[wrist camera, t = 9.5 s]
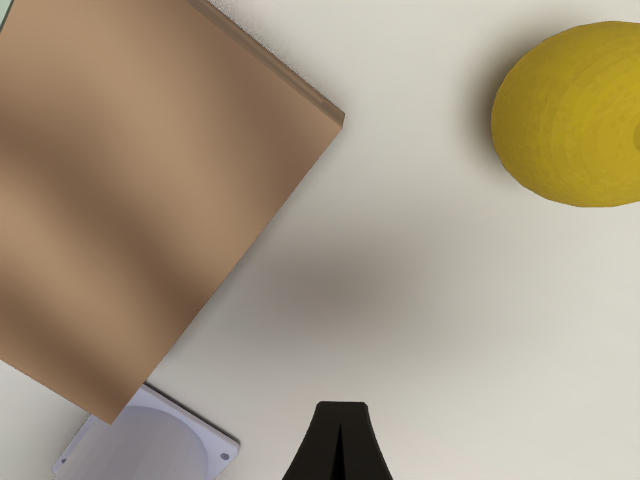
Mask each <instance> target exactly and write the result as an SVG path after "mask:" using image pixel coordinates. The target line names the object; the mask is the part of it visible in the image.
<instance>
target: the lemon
mask: <svg viewBox="0 0 640 480" xmlns="http://www.w3.org/2000/svg"><path fill="white" fill-rule="evenodd" d="M491 134H492V139H493V144H494V149H495V151H496V153H497V155H498V156H499V158H500V160H501V162H502V164H503V166H504V168H505V169H506V170H507V171H508V172H509V173H510V174H511V175H512V176H513V177H514V178H515V179H516V180H517V181H518V182H519V183H520V184H521V185H522V186H524V187H525V188H527V189H529V190H531V191H533V192H534V193H536V194H538V195H540V196H542V197H544V198H545V199H548V200H551V201H555V202H559V203H563V204H568V205H572V206H576V207H615V206H620V205H624V204H629V203H633V202H638V201H640V23H631V22H621V21H605V22H599V23H593V24H587V25H581V26H577V27H573V28H571V29H568V30H566V31H564V32H561V33H559V34H557V35H554V36H552V37H550V38H547V39H546V40H544V41H543V42H541V43H540V44H538V45H537V46H536V47H534V48H533V49H532V50H530V51H529V52H527V53H526V54H525V55H523V57H522V58H521V59H520V60H519V61H518V62H517V63H516V64H515V65H514V67H513V68H512V69H511V70H510V71H509V72H508V73H507V75H506V77H505V79H504V80H503V82H502V84H501V86H500V87H499V89H498V91H497V94H496V97H495V100H494V104H493V107H492V110H491Z"/></svg>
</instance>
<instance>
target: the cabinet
mask: <svg viewBox="0 0 640 480" xmlns="http://www.w3.org/2000/svg"><path fill="white" fill-rule="evenodd" d="M344 116H345V113H343V112H342V111H341V110H340V109H339V108H337V107H336V106H335V105H334V104H333V103H331V102H330V101H329V100H328V99H326V98H325V97H324V96H323V95H322V94H320V93H319V92H318V91H317V90H315V89H314V88H313V87H312V86H311V85H309V84H308V83H307V82H306V81H305V80H303V79H302V78H301V77H300V76H298V75H297V74H296V73H295V72H294V71H292V70H291V69H290V68H289V67H288V66H286V65H285V64H284V63H283V62H281V61H280V60H279V59H278V58H277V57H275V56H274V55H273V54H272V53H271V52H269V51H268V50H267V49H266V48H264V47H263V46H262V45H261V44H260V43H258V42H257V41H256V40H255V39H253V38H252V37H251V36H250V35H249V34H247V33H246V32H245V31H244V30H243V29H241V28H240V27H239V26H238V25H236V24H235V23H234V22H233V21H232V20H230V19H229V18H228V17H227V16H226V15H224V14H223V13H222V12H221V11H219V10H218V9H217V8H216V7H215V6H213V5H212V4H211V3H210V2H209V1H207V0H14V2H13V5H12V7H11V10H10V12H9V14H8V17H7V19H6V21H5V24H4V26H3V28H2V31H1V33H0V360H2V361H4V362H5V363H7V364H9V365H10V366H12V367H14V368H15V369H17V370H19V371H20V372H22V373H24V374H25V375H27V376H29V377H31V378H32V379H34V380H36V381H37V382H39V383H41V384H42V385H44V386H46V387H47V388H49V389H51V390H52V391H54V392H56V393H57V394H59V395H61V396H62V397H64V398H66V399H67V400H69V401H71V402H72V403H74V404H76V405H77V406H79V407H81V408H82V409H84V410H86V411H87V412H89V413H91V414H92V415H94V416H96V417H97V418H99V419H101V420H102V421H104V422H106V423H107V424H109V425H111V424H112V423H113V421H114V420H115V419H116V418H117V416H118V415H119V414H120V412H121V411H122V410H123V409H124V407H125V406H126V405H127V403H128V402H129V401H130V400H131V398H132V397H133V396H134V394H135V393H136V392H137V391H138V389H139V388H140V387H141V385H142V384H143V383H144V382H145V380H146V379H147V378H148V377H149V375H150V374H151V373H152V371H153V370H154V369H155V368H156V366H157V365H158V364H159V362H160V361H161V360H162V359H163V357H164V356H165V355H166V353H167V352H168V351H169V350H170V348H171V347H172V346H173V344H174V343H175V342H176V341H177V339H178V338H179V337H180V335H181V334H182V333H183V332H184V330H185V329H186V328H187V326H188V325H189V324H190V323H191V321H192V320H193V319H194V317H195V316H196V315H197V314H198V312H199V311H200V310H201V309H202V307H203V306H204V305H205V303H206V302H207V301H208V300H209V298H210V297H211V296H212V294H213V293H214V292H215V291H216V289H217V288H218V287H219V285H220V284H221V283H222V282H223V280H224V279H225V278H226V276H227V275H228V274H229V273H230V271H231V270H232V269H233V267H234V266H235V265H236V264H237V262H238V261H239V260H240V258H241V257H242V256H243V255H244V253H245V252H246V251H247V249H248V248H249V247H250V246H251V244H252V243H253V242H254V241H255V239H256V238H257V237H258V235H259V234H260V233H261V232H262V230H263V229H264V228H265V226H266V225H267V224H268V223H269V221H270V220H271V219H272V217H273V216H274V215H275V214H276V212H277V211H278V210H279V208H280V207H281V206H282V205H283V203H284V202H285V201H286V199H287V198H288V197H289V196H290V194H291V193H292V192H293V190H294V189H295V188H296V187H297V185H298V184H299V183H300V181H301V180H302V179H303V178H304V176H305V175H306V174H307V172H308V171H309V170H310V169H311V167H312V166H313V165H314V164H315V162H316V161H317V160H318V158H319V157H320V156H321V155H322V153H323V152H324V151H325V149H326V148H327V147H328V146H329V144H330V143H331V142H332V140H333V139H334V138H335V137H336V135H337V134H338V133H339V131H340V130H341V129H342V126H343V121H344Z"/></svg>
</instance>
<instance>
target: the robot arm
mask: <svg viewBox="0 0 640 480" xmlns="http://www.w3.org/2000/svg"><path fill="white" fill-rule="evenodd" d="M239 449H240V446H239V444H238V443H237V442H235V441H234V440H232V439H230V438H229V437H227V436H226V435H224V434H222V433H221V432H219V431H218V430H216V429H214V428H213V427H211V426H210V425H208V424H207V423H205V422H203V421H202V420H200V419H199V418H197V417H195V416H194V415H192V414H191V413H189V412H187V411H186V410H184V409H183V408H181V407H179V406H178V405H176V404H175V403H173V402H171V401H170V400H168V399H167V398H165V397H163V396H162V395H160V394H159V393H157V392H155V391H154V390H152V389H151V388H149V387H147V386H146V385H144V384H142V385H141V387H140V388H139V389H138V391H137V392H136V393H135V394H134V396H133V397H132V398H131V400H130V401H129V402H128V403H127V405H126V406H125V407H124V409H123V410H122V411H121V412H120V414H119V415H118V416H117V418H116V419H115V420H114V421H113V423H112V424H111V425H109V424H107V423H106V422H104V421H102V420H101V419H99V418H97V417H96V416H94V415H92V414H91V415H90V417H89V418H88V419H87V421H86V422H85V423H84V425H83V426H82V427H81V429H80V430H79V431H78V433H77V434H76V435H75V437H74V438H73V439H72V441H71V442H70V443H69V445H68V446H67V447H66V449H65V450H64V452H63V453H62V454H61V456H60V457H59V458H58V460H57V461H56V462H55V464H54V465H53V466H52V472H53V474H55V476H54V477H53V478H52V480H213V479H214V478H215V477H216V476H217V475H218V474H219V473H220V472H221V471H222V470H223V469H224V468H225V467H226V466H227V465H228V464H229V463H230V462H231V461H232V460H233V459H234V458H235V457H236V456H237V455H238V452H239ZM224 453H226V454H224ZM282 480H393V478H392V476H391V474H390V472H389V470H388V467H387V465H386V462H385V460H384V458H383V455H382V453H381V451H380V448H379V445H378V443H377V440H376V437H375V434H374V431H373V428H372V425H371V421H370V417H369V412H368V406H367V405H366V404H365V403H364V402H332V401H320V402H319V403H318V404H317V406H316V409H315V412H314V415H313V418H312V421H311V423H310V426H309V428H308V430H307V433H306V435H305V437H304V439H303V441H302V443H301V445H300V447H299V449H298V451H297V453H296V455H295V457H294V459H293V461H292V463H291V465H290V467H289V468H288V470H287V472H286V473H285V475H284V477H283V479H282Z"/></svg>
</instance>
